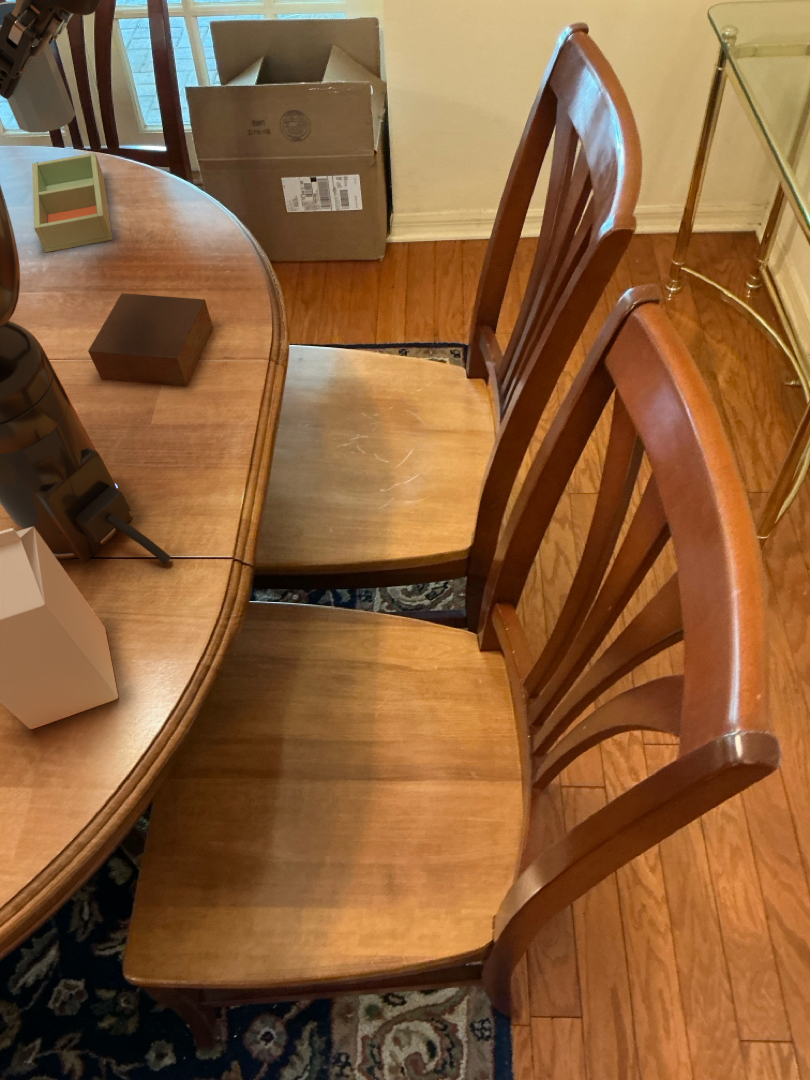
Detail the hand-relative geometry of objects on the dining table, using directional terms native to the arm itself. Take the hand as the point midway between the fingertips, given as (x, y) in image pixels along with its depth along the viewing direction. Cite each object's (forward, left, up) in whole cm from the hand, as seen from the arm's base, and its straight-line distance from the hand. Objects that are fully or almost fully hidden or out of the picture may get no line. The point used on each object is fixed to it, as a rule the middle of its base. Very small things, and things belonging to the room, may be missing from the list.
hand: (13, 75), depth 80 cm
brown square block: (-19, +8, -22) cm, 31 cm away
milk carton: (-41, +42, -23) cm, 63 cm away
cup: (-2, -1, -4) cm, 5 cm away
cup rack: (+11, -7, -22) cm, 26 cm away
